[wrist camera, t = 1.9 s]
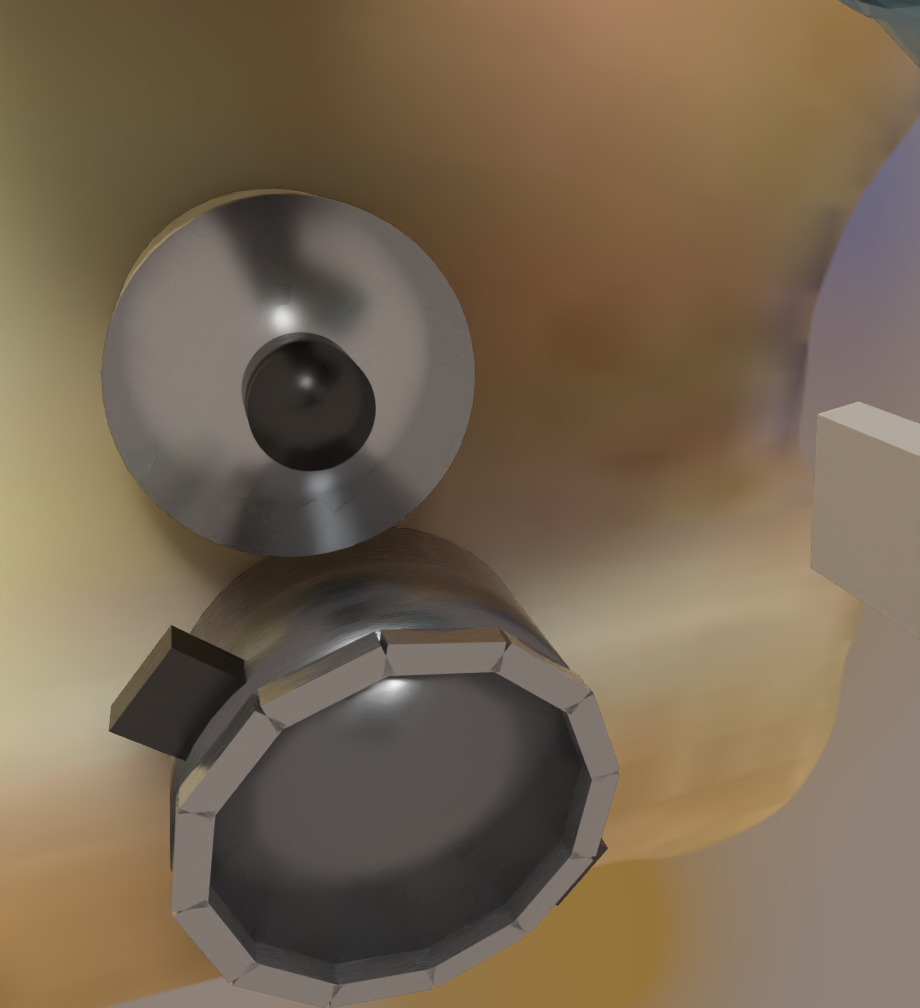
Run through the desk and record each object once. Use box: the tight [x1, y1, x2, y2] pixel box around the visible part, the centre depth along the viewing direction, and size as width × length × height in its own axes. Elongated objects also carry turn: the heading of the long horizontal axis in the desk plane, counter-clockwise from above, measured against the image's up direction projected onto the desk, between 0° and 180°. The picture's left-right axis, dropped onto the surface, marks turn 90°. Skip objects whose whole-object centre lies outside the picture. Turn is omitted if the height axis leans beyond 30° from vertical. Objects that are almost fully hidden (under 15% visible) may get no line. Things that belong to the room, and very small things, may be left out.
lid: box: [101, 189, 475, 557], centre depth 23 cm, size 10×10×6 cm
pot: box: [109, 527, 620, 1008], centre depth 28 cm, size 18×14×8 cm
